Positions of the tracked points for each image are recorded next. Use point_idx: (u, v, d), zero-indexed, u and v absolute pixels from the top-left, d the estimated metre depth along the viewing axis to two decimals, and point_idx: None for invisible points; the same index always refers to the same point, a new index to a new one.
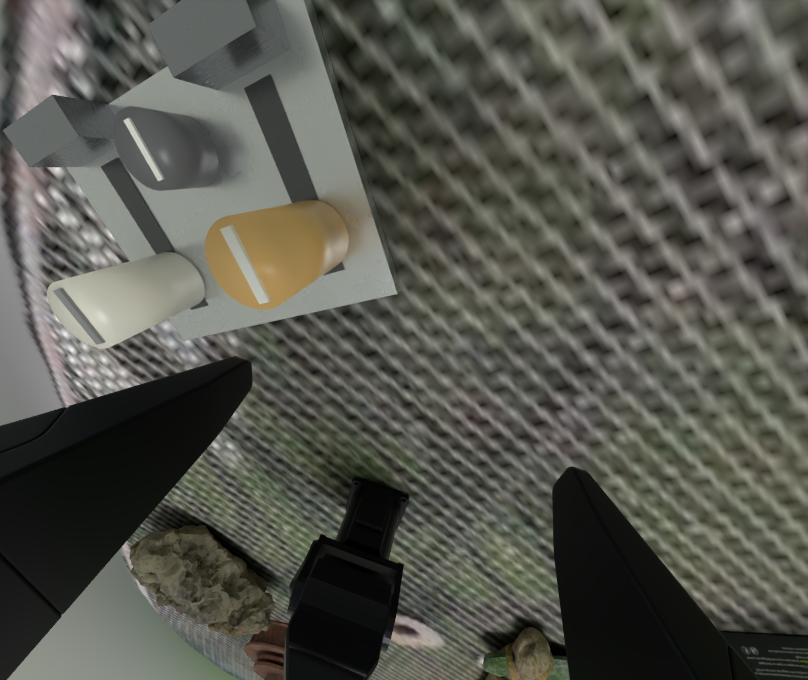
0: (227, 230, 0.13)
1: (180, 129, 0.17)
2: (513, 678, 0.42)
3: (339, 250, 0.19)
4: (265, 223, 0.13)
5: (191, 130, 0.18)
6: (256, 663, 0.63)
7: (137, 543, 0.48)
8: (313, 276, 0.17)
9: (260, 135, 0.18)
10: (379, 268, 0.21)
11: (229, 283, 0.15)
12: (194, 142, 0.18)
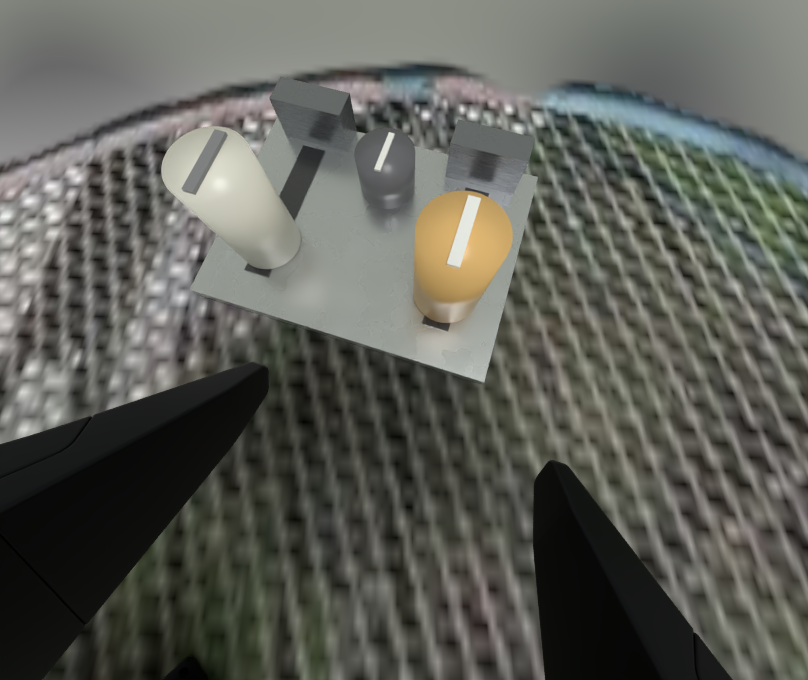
0: (474, 199, 0.14)
1: (414, 166, 0.21)
2: None
3: (474, 306, 0.19)
4: (505, 219, 0.14)
5: (414, 174, 0.22)
6: None
7: None
8: (475, 293, 0.16)
9: None
10: (481, 350, 0.20)
11: (428, 233, 0.14)
12: (412, 179, 0.21)
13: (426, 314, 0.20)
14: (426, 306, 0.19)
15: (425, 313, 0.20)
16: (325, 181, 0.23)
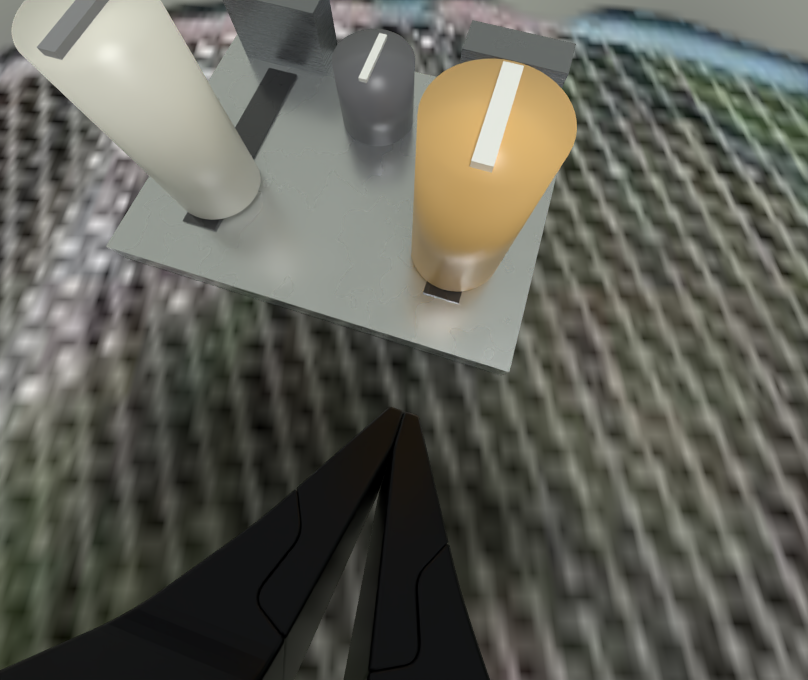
0: (513, 68, 0.09)
1: None
2: None
3: (496, 265, 0.14)
4: (560, 103, 0.09)
5: (413, 98, 0.17)
6: None
7: None
8: (506, 232, 0.10)
9: None
10: (504, 328, 0.15)
11: (438, 118, 0.09)
12: (411, 102, 0.16)
13: (429, 278, 0.15)
14: (430, 263, 0.13)
15: (428, 277, 0.15)
16: (296, 111, 0.18)
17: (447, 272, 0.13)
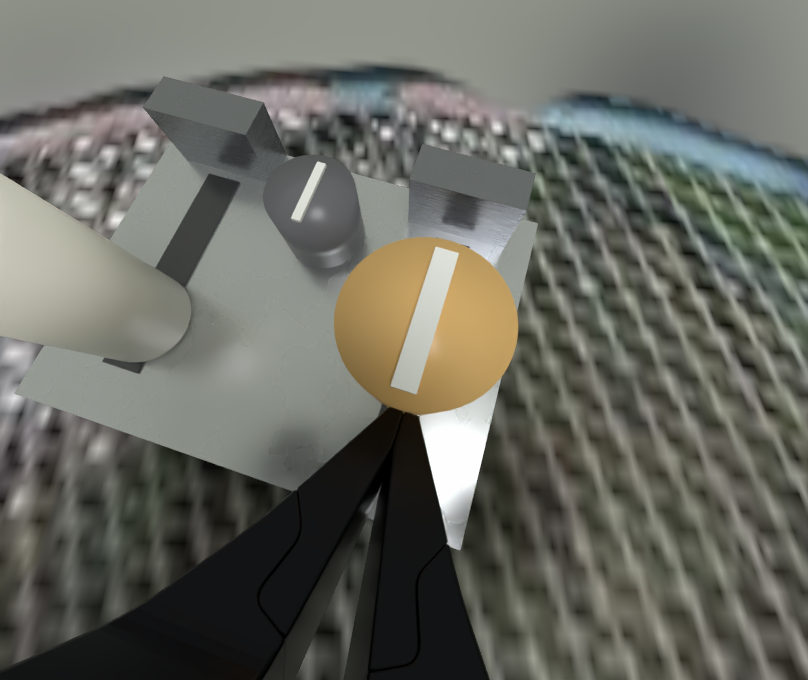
0: (446, 255, 0.08)
1: (359, 210, 0.14)
2: None
3: None
4: (502, 289, 0.08)
5: (361, 220, 0.15)
6: None
7: None
8: None
9: None
10: (457, 494, 0.13)
11: (358, 319, 0.07)
12: (357, 228, 0.15)
13: None
14: None
15: None
16: (236, 226, 0.16)
17: None
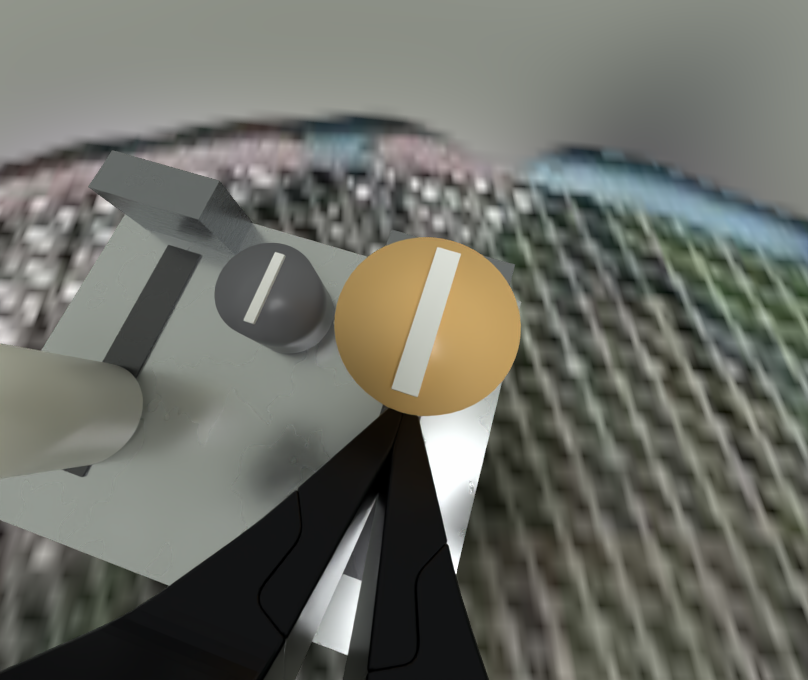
0: (448, 256, 0.08)
1: (323, 300, 0.13)
2: None
3: None
4: (505, 290, 0.08)
5: (327, 306, 0.14)
6: None
7: None
8: None
9: None
10: None
11: (359, 321, 0.07)
12: (321, 317, 0.13)
13: None
14: None
15: None
16: (196, 304, 0.15)
17: None
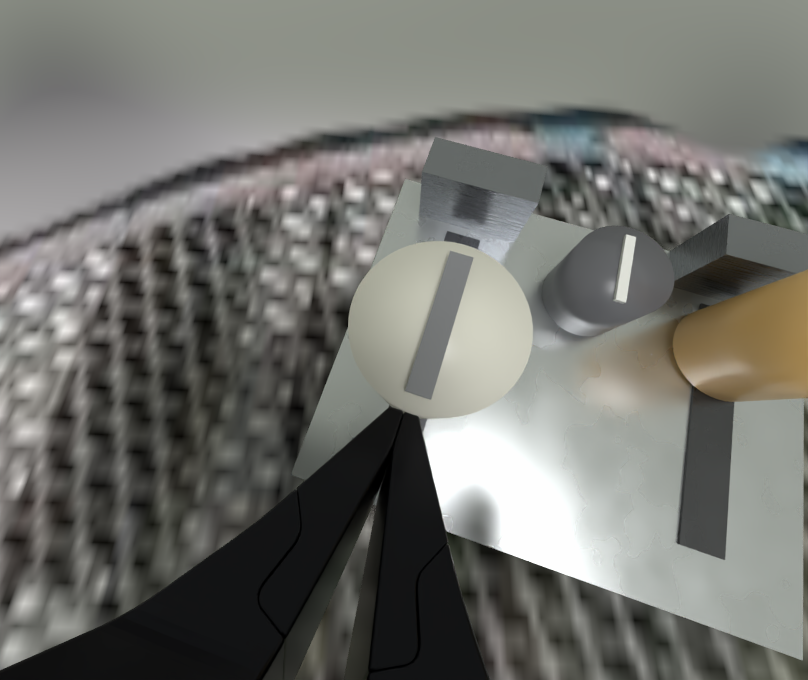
0: None
1: None
2: None
3: None
4: None
5: None
6: None
7: None
8: None
9: None
10: (785, 595, 0.12)
11: None
12: None
13: (709, 390, 0.14)
14: (740, 385, 0.12)
15: (708, 388, 0.13)
16: None
17: (760, 395, 0.12)
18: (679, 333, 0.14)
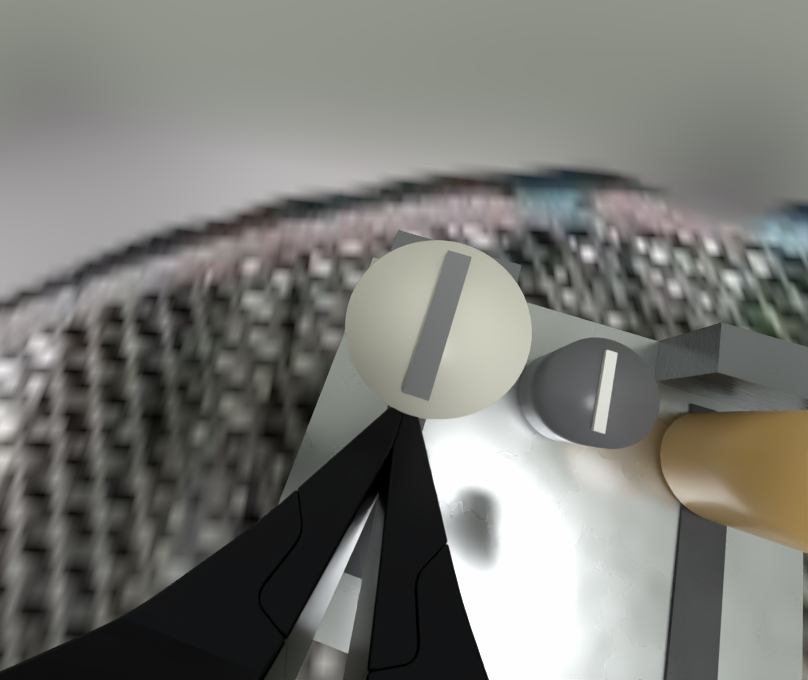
0: None
1: None
2: None
3: None
4: None
5: None
6: None
7: None
8: None
9: None
10: None
11: None
12: None
13: (699, 513, 0.12)
14: (732, 522, 0.11)
15: (698, 512, 0.12)
16: None
17: (755, 535, 0.11)
18: (667, 443, 0.13)
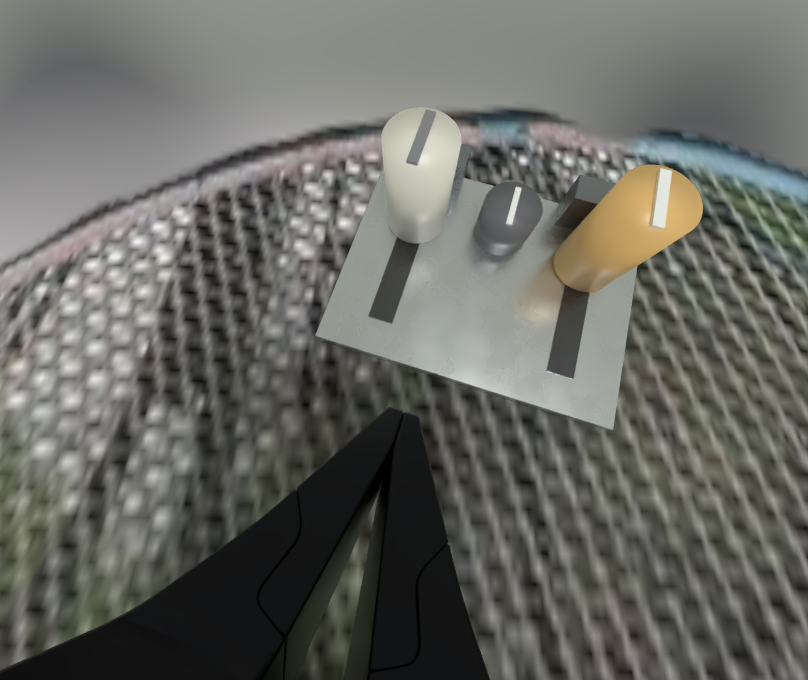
0: (666, 172, 0.16)
1: None
2: None
3: None
4: (689, 189, 0.17)
5: None
6: None
7: None
8: (648, 257, 0.18)
9: None
10: (607, 397, 0.21)
11: (628, 200, 0.16)
12: None
13: (571, 283, 0.22)
14: (580, 274, 0.21)
15: (570, 282, 0.22)
16: None
17: (592, 280, 0.21)
18: (556, 251, 0.23)
